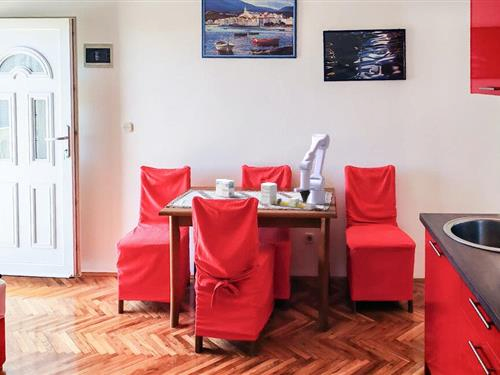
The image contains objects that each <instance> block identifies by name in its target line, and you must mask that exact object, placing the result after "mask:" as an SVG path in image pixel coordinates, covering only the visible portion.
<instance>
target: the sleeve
mask: <svg viewBox="0 0 500 375" xmlns="http://www.w3.org/2000/svg"><path fill="white" fill-rule="evenodd" d="M289 202H290V204H289V206H288V207H291V208H297V207H296V203H299V202H300V198H299V197H291V198H289ZM299 204H300V203H299Z"/></svg>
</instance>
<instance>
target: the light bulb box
mask: <svg viewBox="0 0 500 375" xmlns="http://www.w3.org/2000/svg"><path fill="white" fill-rule="evenodd" d="M215 196H216V197H222V198H231V197H234V196H235V180H234V179H224V178H221V179H215Z"/></svg>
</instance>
